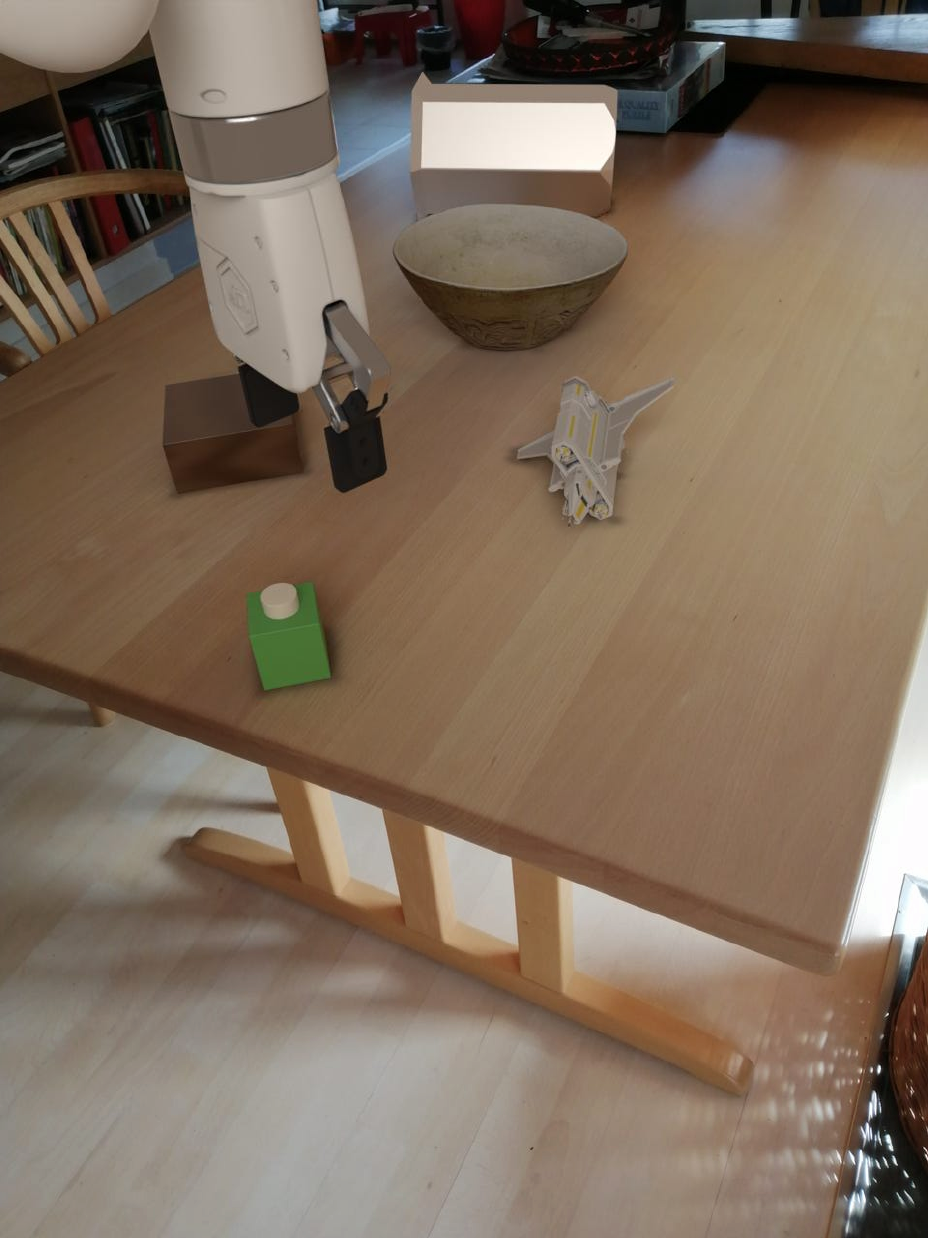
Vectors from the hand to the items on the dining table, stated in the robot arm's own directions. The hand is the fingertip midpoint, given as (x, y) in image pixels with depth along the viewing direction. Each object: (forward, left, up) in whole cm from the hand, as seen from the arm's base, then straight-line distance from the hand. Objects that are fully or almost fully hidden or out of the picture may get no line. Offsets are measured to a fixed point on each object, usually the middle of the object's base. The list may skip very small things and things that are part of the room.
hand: (316, 448), depth 59 cm
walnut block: (-7, +31, -17) cm, 35 cm away
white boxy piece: (+32, +82, -17) cm, 89 cm away
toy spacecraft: (+21, +14, -17) cm, 30 cm away
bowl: (+23, +47, -17) cm, 54 cm away
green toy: (-4, +1, -17) cm, 17 cm away
